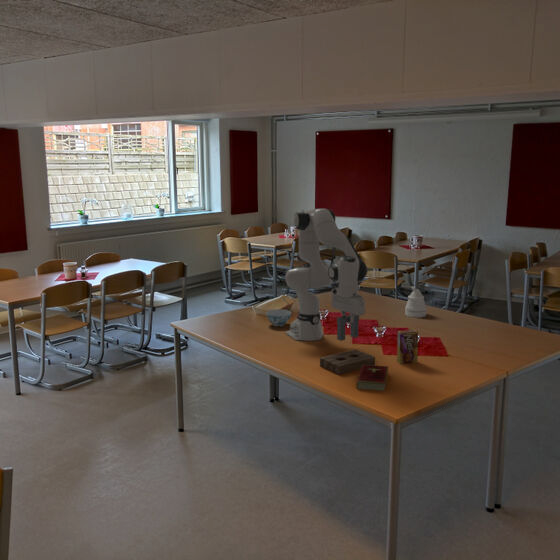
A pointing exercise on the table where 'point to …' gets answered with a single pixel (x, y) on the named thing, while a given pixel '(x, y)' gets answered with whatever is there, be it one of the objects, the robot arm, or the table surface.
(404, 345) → the candy box
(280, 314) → the chinaware
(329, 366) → the wooden board with holes
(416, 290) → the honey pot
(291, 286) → the robot arm
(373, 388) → the hardcover book
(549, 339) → the table surface
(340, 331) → the grey u-shaped block
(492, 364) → the table surface
